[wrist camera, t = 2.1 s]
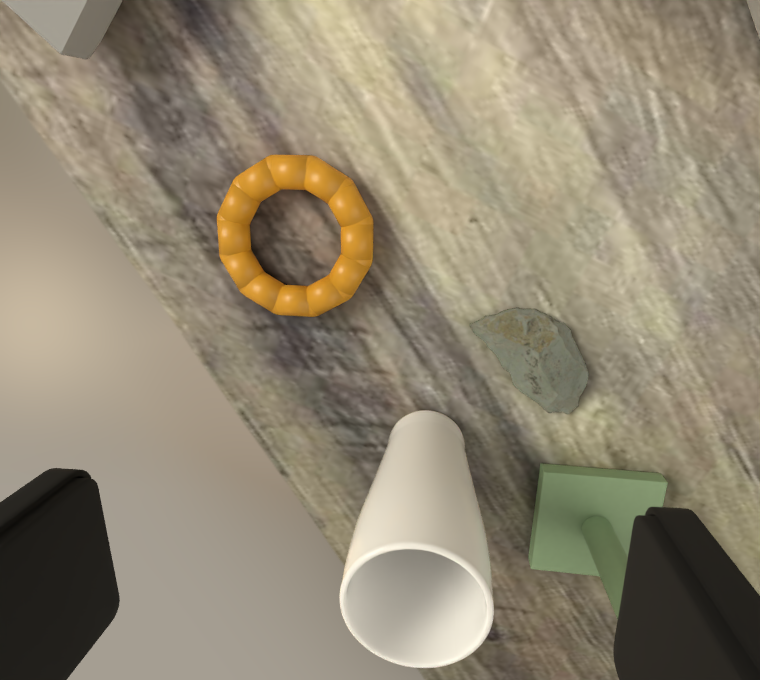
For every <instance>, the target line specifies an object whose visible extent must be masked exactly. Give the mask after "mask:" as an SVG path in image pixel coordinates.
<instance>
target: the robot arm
mask: <svg viewBox="0 0 760 680" xmlns="http://www.w3.org/2000/svg"><path fill="white" fill-rule="evenodd" d="M119 601H120V600H119V592H118V587H117V582H116V577H115V572H114V567H113V561H112V556H111V551H110V546H109V541H108V536H107V531H106V525H105V520H104V515H103V510H102V505H101V500H100V494H99V489H98V485H97V483H96V482H95V481H94V480H93V479H91V476H90V475H89V474H88V473H87V472H86V471H84V470H76V469H61V468H53V469H49V470H47V471H45V472H43V473H42V474H41V475H39V476H38V477H36V478H35V479H33V480H32V481H31V482H29V483H28V484H26V485H25V486H23V487H22V488H20V489H19V490H18V491H16V492H15V493H13V494H12V495H10V496H9V497H7V498H6V499H5V500H3V501H2V502H0V680H67V678H68V677H69V676H70V674H71V673H72V672H73V671H74V669H75V668H76V667H77V665H78V664H79V663H80V662H81V660H82V659H83V658H84V657H85V655H86V654H87V652H88V651H89V650H90V649H91V648H92V646H93V645H94V644H95V642H96V641H97V640H98V639H99V637H100V636H101V635H102V633H103V632H104V631H105V629H106V628H107V627H108V626H109V624H110V623H111V622H112V620H113V619H114V617H115V615H116V613H117V610H118V607H119ZM614 662H615V667H616V671H617V674H618V677H619V680H760V596H759V594H758V593H757V592H756V591H755V589H754V588H753V587H752V585H751V584H750V583H749V582H748V580H747V579H746V578H745V577H744V575H743V574H742V573H741V571H740V570H739V569H738V568H737V566H736V565H735V564H734V563H733V561H732V560H731V559H730V557H729V556H728V555H727V554H726V552H725V551H724V550H723V549H722V547H721V546H720V545H719V543H718V542H717V541H716V540H715V538H714V537H713V536H712V535H711V533H710V532H709V531H708V529H707V528H706V527H705V526H704V524H703V523H702V522H701V521H700V519H699V518H698V517H697V515H696V514H695V513H694V512H693V511H692V510H689V509H682V508H666V507H649V508H648V509H647V511H646V513H645V516H644V515H638V516H636V517H635V519H634V522H633V528H632V534H631V540H630V547H629V553H628V559H627V565H626V572H625V578H624V584H623V590H622V597H621V603H620V609H619V616H618V622H617V628H616V634H615V641H614Z"/></svg>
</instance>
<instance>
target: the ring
mask: <svg viewBox="0 0 760 680" xmlns="http://www.w3.org/2000/svg"><path fill="white" fill-rule="evenodd" d="M281 189H293V190H307V191H309V192H310V193H312V194H313V195H315V196H317V197H318V198H320V199H321V200H323V201H324V202H326V203H328V204H329V206H330V208H331V210H332V212H333V214H334V215H335V217H336V219H337V221H338V223H339V225H340V226H341V255H340V256H339V258H338V260H337V262H336V263H335V265H334V267H333V269H332V270H331V272H330V274H329V275H328V276H326V277H324V278H322V279H321V280H319V281H317V282H315V283H313V284H311V285H310V286H298V285H285V284H283V283H281V282H280V281H278V280H277V279H275V278H273V277H272V276H270V275H269V274H267V273H265V272H264V270H263V269H262V267H261V265H260V264H259V262H258V260H257V259H256V257H255V255H254V254H253V252H252V250H251V236H250V223H251V221H252V219H253V217H254V215H255V213H256V211H257V209H258V207H259V205H260V203H261V201H263V200H265V199H266V198H268V197H270V196H271V195H273V194H274V193H276V192H278V191H279V190H281ZM217 227H218V241H219V254H220V258H221V261H222V262H223V264H224V266H225V267H226V269H227V271H228V272H229V274H230V275H231V277H232V279H233V280H234V282H235V284H236V285H237V287H238V289H239V290H240V292H241V293H242V294H243V295H245V296H246V297H248V298H250V299H251V300H253V301H254V302H256V303H258V304H259V305H261V306H263V307H264V308H266V309H267V310H269V311H271V312H272V313H274V314H277V315H288V316H307V317H315V316H319V315H321V314H323V313H324V312H326V311H328V310H330V309H332V308H334V307H336V306H338V305H340V304H342V303H344V302H345V301H347V300H349V299H350V298H351V297H352V296H353V295H354V293H355V292H356V290H357V288H358V287H359V285H360V283H361V282H362V280H363V278H364V277H365V275H366V273H367V272H368V270H369V268H370V267H371V264H372V261H373V218H372V216H371V214H370V212H369V210H368V208H367V206H366V204H365V202H364V201H363V199H362V197H361V195H360V193H359V191H358V189H357V187H356V186H355V184H354V182H353V181H352V180H351V179H350V178H349V177H348V176H346V175H344V174H343V173H341V172H340V171H338V170H337V169H335V168H333V167H332V166H330V165H329V164H327V163H326V162H324V161H322V160H321V159H319V158H318V157H316V156H312V155H270V156H268V157H266V158H264V159H263V160H261V161H260V162H258V163H257V164H255V165H253V166H252V167H250V168H249V169H247V170H246V171H244V172H242V173H241V174H239V175H238V176H237V177H236V178H235V179H234V180H233V182H232V184H231V186H230V188H229V191H228V193H227V195H226V197H225V199H224V201H223V203H222V205H221V208H220V210H219V212H218V215H217Z"/></svg>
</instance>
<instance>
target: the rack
mask: <svg viewBox="0 0 760 680" xmlns="http://www.w3.org/2000/svg"><path fill="white" fill-rule="evenodd" d="M667 484H668V483H667V481H666V480H665V478H664V477H663V476H662V475H661V474H660V473H651V472H639V471H627V470H615V469H603V468H590V467H578V466H566V465H554V464H542V463H541V464H540V471H539V479H538V487H537V495H536V502H535V510H534V518H533V525H532V533H531V541H530V548H529V556H528V558H529V563H530V567H531V569H537V570H546V571H556V572H565V573H574V574H584V575H593V576H600V578H601V580H602V582H603V585H604V587H605V590H606V592H607V595H608V597H609V600H610V602H611V605H612V607H613V609H614V612H615V614H616V617H617V619H618V616H619V609H620V603H621V597H622V590H623V584H624V578H625V572H626V565H627V559H628V553H629V547H630V540H631V534H632V528H633V522H634V519H635V517H636V516H638V515H644V516H645V513H646V511H647V509H648V508H649V507H663V502H664V498H665V493H666V489H667Z"/></svg>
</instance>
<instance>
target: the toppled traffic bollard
mask: <svg viewBox="0 0 760 680" xmlns="http://www.w3.org/2000/svg"><path fill="white" fill-rule="evenodd" d="M746 1H747V4H748V7H749V10H750V13H751V16H752V19H753V22H754V25H755V28H756V31H757V34H758V36H759V39H760V0H746Z"/></svg>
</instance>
